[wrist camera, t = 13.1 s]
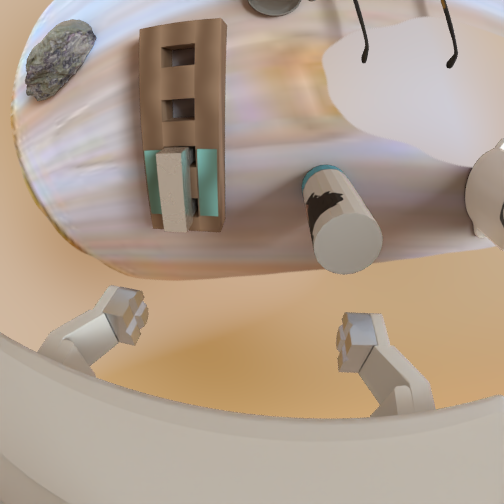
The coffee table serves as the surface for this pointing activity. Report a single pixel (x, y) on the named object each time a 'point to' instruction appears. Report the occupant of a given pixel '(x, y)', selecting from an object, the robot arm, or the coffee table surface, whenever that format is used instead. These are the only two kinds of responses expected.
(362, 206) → the cup
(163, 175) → the tall white block
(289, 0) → the pocket watch
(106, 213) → the coffee table surface
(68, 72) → the mineral rock
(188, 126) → the slotted brown block
